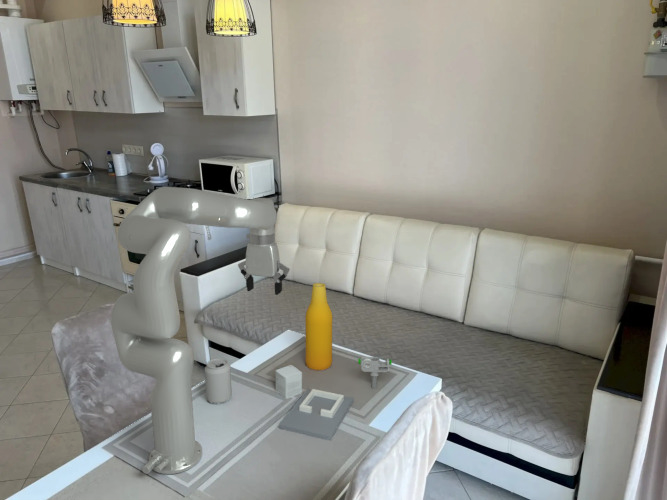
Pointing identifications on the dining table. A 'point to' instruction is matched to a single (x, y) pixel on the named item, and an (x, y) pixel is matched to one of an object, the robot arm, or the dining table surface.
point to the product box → (288, 381)
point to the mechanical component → (374, 367)
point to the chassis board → (317, 414)
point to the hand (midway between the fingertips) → (264, 291)
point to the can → (218, 380)
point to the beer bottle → (318, 330)
